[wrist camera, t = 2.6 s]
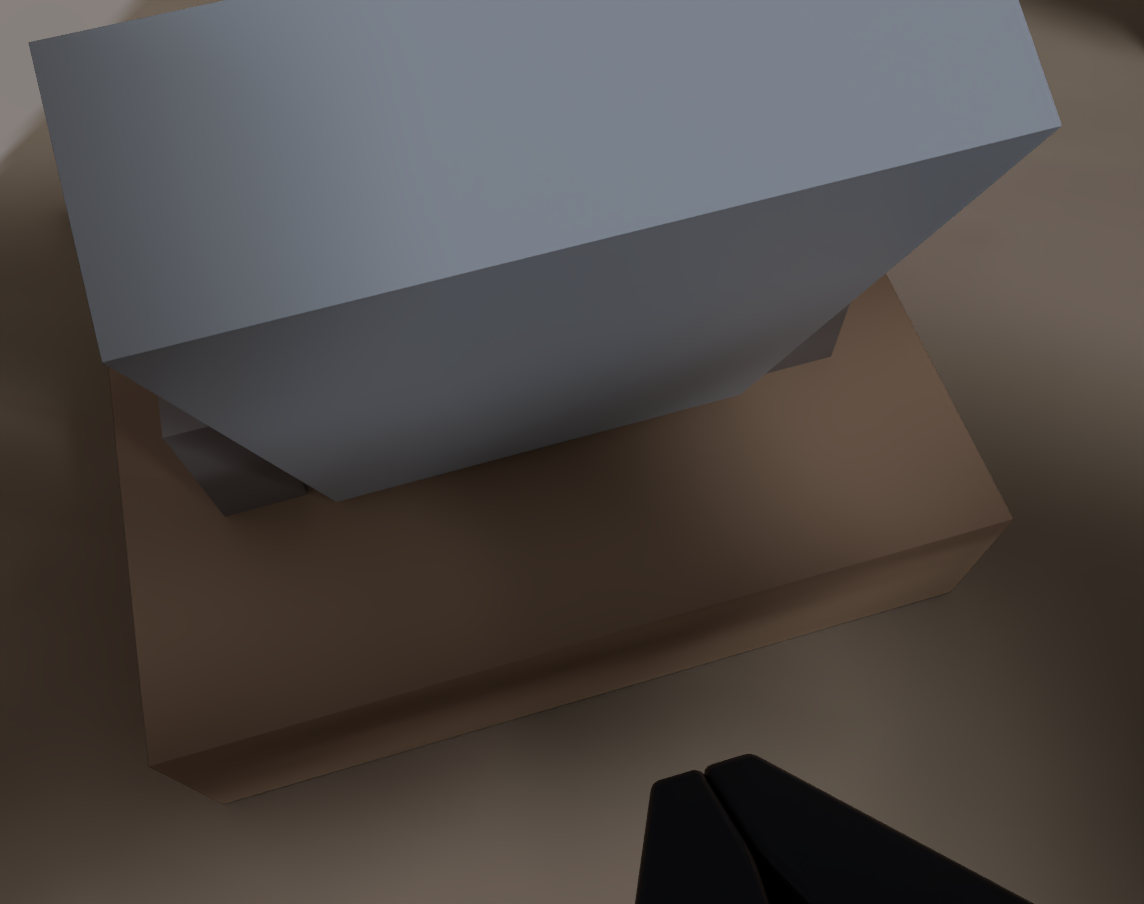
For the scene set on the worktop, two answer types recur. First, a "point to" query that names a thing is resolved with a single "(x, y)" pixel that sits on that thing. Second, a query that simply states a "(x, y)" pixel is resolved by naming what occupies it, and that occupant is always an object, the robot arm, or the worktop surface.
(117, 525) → the worktop surface
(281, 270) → the block
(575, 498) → the switch base
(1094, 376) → the worktop surface
